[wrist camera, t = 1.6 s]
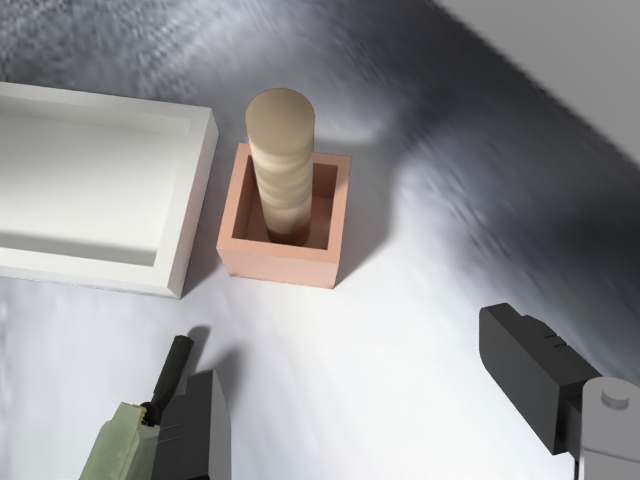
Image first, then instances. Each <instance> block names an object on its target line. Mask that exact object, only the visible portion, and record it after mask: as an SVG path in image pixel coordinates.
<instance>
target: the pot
mask: <svg viewBox="0 0 640 480" xmlns="http://www.w3.org/2000/svg"><path fill="white" fill-rule="evenodd" d="M350 164H351V157H349V156H341V155H334V154H326V153H318V152H313V176H312V202H311V229H310V236H309V238H308V240H307V241H306V243H305V244H304V245H302V246H301V247H297V246H289V245H281V244H273V243H272V242H271V241H270V239H269V237H268V234H267V229H266V224H265V219H264V213H263V208H262V203H261V198H260V193H259V188H258V183H257V178H256V173H255V168H254V163H253V158H252V153H251V148H250V144H246V143H239V144H238V148H237V153H236V158H235V162H234V167H233V172H232V176H231V181H230V186H229V190H228V195H227V199H226V204H225V209H224V213H223V218H222V223H221V227H220V232H219V236H218V241H217V246H216V250H217V252H218V254H219V255H220V257H221V259H222V261H223V263H224V265H225V267H226V269H227V271H228V273H229V275H230V276H235V277H242V278H250V279H258V280H266V281H273V282H281V283H289V284H297V285H304V286H312V287H320V288H328V289H333V288H334V283H335V279H336V275H337V271H338V266H339V260H340V251H341V242H342V234H343V225H344V216H345V208H346V199H347V190H348V181H349V173H350Z"/></svg>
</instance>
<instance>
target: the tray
mask: <svg viewBox="0 0 640 480" xmlns="http://www.w3.org/2000/svg"><path fill="white" fill-rule="evenodd" d="M218 137H219V132H218V129H217V125H216V122H215V119H214V115H213V112H212V109H211V108H208V107H200V106H192V105H184V104H176V103H168V102H160V101H152V100H144V99H136V98H128V97H120V96H112V95H104V94H96V93H88V92H80V91H72V90H64V89H56V88H48V87H40V86H32V85H24V84H16V83H8V82H0V276H3V277H10V278H18V279H26V280H34V281H41V282H49V283H57V284H64V285H72V286H80V287H88V288H95V289H103V290H111V291H118V292H126V293H134V294H141V295H149V296H157V297H165V298H172V299H180V298H181V294H182V290H183V286H184V281H185V277H186V273H187V269H188V264H189V260H190V256H191V252H192V247H193V243H194V239H195V235H196V230H197V226H198V222H199V218H200V213H201V209H202V205H203V201H204V196H205V192H206V188H207V184H208V179H209V175H210V171H211V166H212V162H213V158H214V154H215V149H216V145H217V141H218Z"/></svg>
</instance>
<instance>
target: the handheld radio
mask: <svg viewBox="0 0 640 480" xmlns="http://www.w3.org/2000/svg"><path fill="white" fill-rule="evenodd" d="M193 343H194V341H193V340H191V339H190V338H189V337H186V336H182V335H180V336H175V338H174V341H173V344H172V346H171V349H170V351H169V354H168V356H167V359H166V361H165V364H164V367H163V369H162V372H161V374H160V377H159V379H158V382H157V384H156V387H155V390H154V392H153V393H154V395H153V398H152V401H151V402H144V403H142V404H141V405H140V406H138V405H130V404H127V403H123V402H121V404H120V405H119V407H118V409H117V411H116V413H115V415H114V417H113V418H112V420H111V421H108V422H106V423H105V424H104V425H103V426H102V428H101V430H100V432H99V434H98V436H97V439H96V441H95V443H94V446H93V448H92V451H91V453H90V455H89V458H88V460H87V462H86V465H85V467H84V469H83V472H82V474H81V476H80V479H78V480H151V475H152V470H153V464H154V458H155V452H156V447H157V444H158V435H159V431H160V424H161V418H162V413H163V411H164V409H165V408H166V406H167V405H168V403H169V402H170V400H171V398H172V397H173V396H174V393H175V390H176V388H177V385H178V382H179V380H180V377H181V374H182V372H183V369H184V367H185V364H186V361H187V359H188V356H189V353H190V351H191V348H192V345H193Z"/></svg>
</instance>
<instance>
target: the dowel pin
mask: <svg viewBox="0 0 640 480" xmlns="http://www.w3.org/2000/svg"><path fill="white" fill-rule="evenodd" d="M245 122H246V128H247V133H248V138H249V143H250V148H251V153H252V158H253V163H254V168H255V173H256V178H257V183H258V188H259V193H260V198H261V203H262V208H263V213H264V219H265V224H266V229H267V234H268V237H269V239H270V241H271V242H272V243H273V244H281V245H289V246H297V247H301V246H302V245H304V244H305V243H306V241H307V240H308V238H309V236H310V229H311V202H312V176H313V149H314V123H315V115H314V110H313V107H312V105H311V103H310V102H309V101H308V99H306V98H305V97H304V96H303V95H302V94H300V93H298V92H296V91H294V90H290V89H285V88H275V89H270V90H267V91H264V92H262V93H260V94H258V95H257V96H256V97H255V98H253V100H252V101H251V102H250V103H249V105H248V107H247V109H246V113H245Z"/></svg>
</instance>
